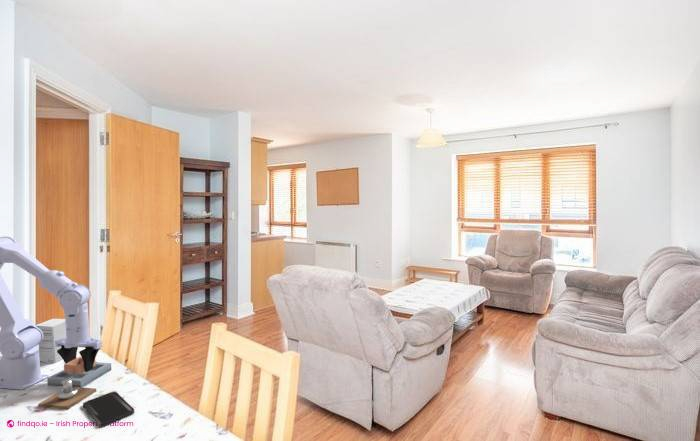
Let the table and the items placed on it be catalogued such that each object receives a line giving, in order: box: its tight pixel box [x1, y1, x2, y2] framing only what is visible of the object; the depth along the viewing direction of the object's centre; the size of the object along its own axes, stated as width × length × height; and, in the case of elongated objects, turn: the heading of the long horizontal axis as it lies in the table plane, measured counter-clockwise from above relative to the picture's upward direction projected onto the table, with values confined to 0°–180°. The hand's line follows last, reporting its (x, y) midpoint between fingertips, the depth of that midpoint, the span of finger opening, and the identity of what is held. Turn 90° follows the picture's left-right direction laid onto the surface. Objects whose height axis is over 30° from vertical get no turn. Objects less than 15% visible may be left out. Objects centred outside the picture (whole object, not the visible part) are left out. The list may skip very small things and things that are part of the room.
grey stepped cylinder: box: [57, 377, 78, 400], centre depth 102 cm, size 4×4×5 cm
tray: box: [46, 361, 112, 388], centre depth 114 cm, size 11×11×2 cm
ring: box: [63, 356, 97, 374], centre depth 113 cm, size 6×6×2 cm
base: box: [37, 387, 97, 410], centre depth 102 cm, size 9×9×1 cm
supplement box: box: [34, 318, 66, 363], centre depth 128 cm, size 7×7×13 cm
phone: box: [82, 391, 135, 428], centre depth 97 cm, size 8×1×15 cm
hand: (80, 369), depth 114 cm, fingers closed on ring, 5 cm apart
